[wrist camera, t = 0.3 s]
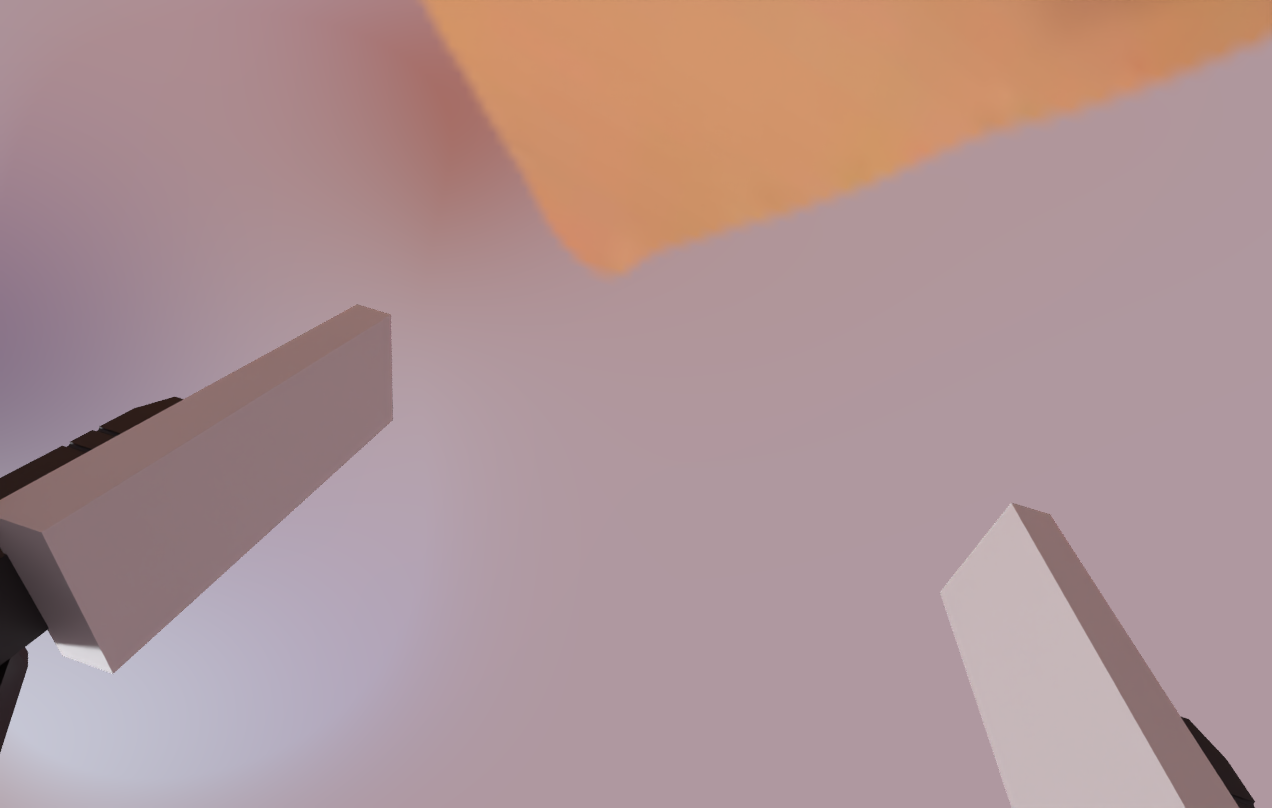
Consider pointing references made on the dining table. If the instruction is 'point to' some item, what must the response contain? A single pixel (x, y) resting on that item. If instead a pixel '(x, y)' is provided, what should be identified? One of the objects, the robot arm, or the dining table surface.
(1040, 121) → the dining table surface
